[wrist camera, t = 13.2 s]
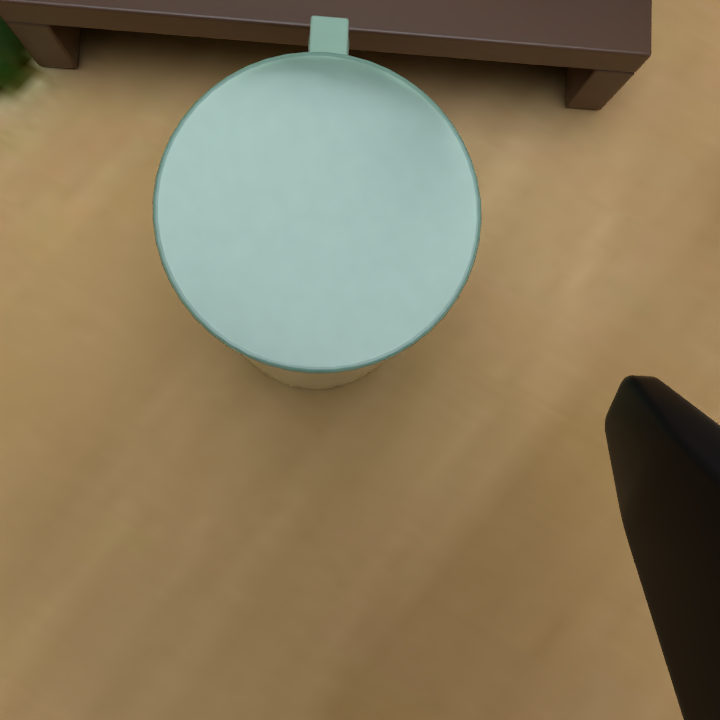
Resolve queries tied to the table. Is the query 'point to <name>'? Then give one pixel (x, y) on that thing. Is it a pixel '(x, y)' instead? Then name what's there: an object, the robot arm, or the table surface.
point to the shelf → (376, 30)
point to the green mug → (317, 212)
